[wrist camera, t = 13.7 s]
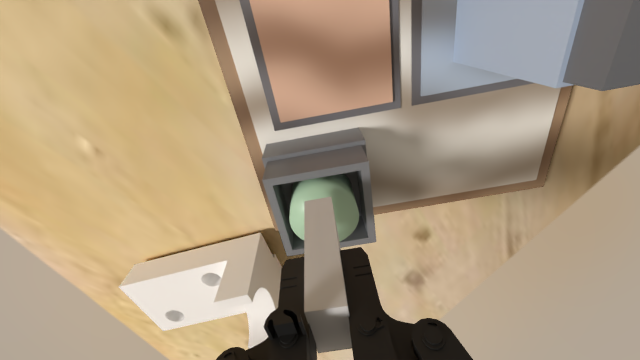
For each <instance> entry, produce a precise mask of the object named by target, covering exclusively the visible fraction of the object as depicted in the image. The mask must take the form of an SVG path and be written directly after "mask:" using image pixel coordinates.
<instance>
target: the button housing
mask: <svg viewBox="0 0 640 360" xmlns="http://www.w3.org/2000/svg"><path fill="white" fill-rule="evenodd" d="M262 161H263V164H264V168H265V171H264V175H263V179H262V181H263V185H264V188H265V191H266V194H267V197H268V200H269V203H270V206H271V209H272V212H273V215H274V218H275V221H276V224H277V227H278V230H279V233H280V236H281V239H282V242H283V245H284V249H285V252H286V255H287V256H292V255H299V254H304V240H302V239H301V238H299V237H298V236H297V235H296V234H295V233H294V231H293V230H292V228H291V225H290V221H289V216H290V204H291V192H292V186H293V184H294V182H297V181H303V180H308V179H314V178H320V177H326V176H331V175H337V174H343V173H344V174H345V175H346V176H347V178H348V179H349V181H350V183H351V186H352V190H353V193H354V197H355V200H356V204H357V207H358V211H359V221H358V224H357V226H356V228H355V230H354V231H353V232H352V234H350V235H349V236H348V237H347V238H345V239H344V240H342V241H340V242H339V243H340V248H342V247H348V246H354V245H360V244H366V243H373V242H376V234H375V223H374V212H373V201H372V190H371V180H370V169H369V161H368V159H367V153H366V142H365V138H364V136H363V134H362V133H361V131H360V129H359V127H358V128H352V129H347V130H341V131H336V132H330V133H325V134H319V135H314V136H308V137H303V138H297V139H292V140H286V141H281V142H275V143H270V144H266V147H265V150H264V153H263V156H262Z"/></svg>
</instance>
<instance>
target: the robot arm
mask: <svg viewBox="0 0 640 360" xmlns="http://www.w3.org/2000/svg"><path fill="white" fill-rule="evenodd" d="M264 329H265V331H266V333H267V335H268V338H267V339H266V340H264V341H263V342H261V343H260V344H258V345H256V346H254V347H252V348H250V349H248V350H246V351H245V350H244V349H242V348H240V347H234V348H230V349H228V350H226V351H224V352H223V353H222V354H221V355H220V356H219V357H218V358H217V359H216V360H317V351H318V353H322V352H329V351H336V350H343V349H350V348H352V350H353V357H354V360H473V359H472V358H471V356H470V355H469V354H468V352H467V351H466V350H465V348H464V347H463V346H462V344H461V343H460V342H459V340H458V339H457V338H456V336H455V335H454V334H453V332H452V331H451V330H450V329H449V328H448V327H447V326H446V325H445V324H444V323H442V322H440V321H439V320H437V319H431V318H426V319H421V320H419V321H418V322H417V323H415V324H411V323H405V322H400V321H397V320H395V319H393V318H391V317H390V316H388V315H387V314H386V313H385V311H384V310H383V309H382V306H381V304H380V300H379V296H378V293H377V289H376V285H375V281H374V278H373V274H372V270H371V266H370V262H369V259H368V255H367V254H366V253H365V251H364V250H363V249H362V248H361V247H359V248H353V249H347V250H341V249H340V243H339V236H338V230H337V225H336V220H335V214H334V209H333V203H332V198H331V197H326V198H320V199H314V200H309V201H304V257H301V258H295V259H289V260H286V262H285V264H284V266H283V267H282V269H281V281H280V291H279V301H278V308H277V309H276V310H274V311H273V312H272V313H270V315H269V316H268V317H267V319H266V321H265V324H264Z"/></svg>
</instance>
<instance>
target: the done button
mask: <svg viewBox="0 0 640 360" xmlns="http://www.w3.org/2000/svg"><path fill="white" fill-rule="evenodd" d="M326 197H331V198H332V203H333V209H334V214H335V220H336V225H337V230H338V236H339V242H340V241H342V240H344V239H345V238H347V237H348V236H349V235H350V234H352V232H353V231H354V230H355V228H356V226H357V224H358V221H359V211H358V207H357V204H356V200H355V197H354V193H353V190H352V186H351V183H350V181H349V179H348V178H347V176H346V175H345V174H344V173H343V174H337V175H331V176H326V177H320V178H314V179H308V180H303V181H297V182H294V184H293V186H292V192H291V204H290V216H289V221H290V225H291V228H292V230H293V231H294V233H295V234H296V235H297V236H298V237H299V238H301V239H302V240H304V201H309V200H314V199H320V198H326Z"/></svg>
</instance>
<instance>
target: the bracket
mask: <svg viewBox="0 0 640 360" xmlns="http://www.w3.org/2000/svg"><path fill="white" fill-rule="evenodd" d="M281 269H282V267H281V265H280V263H279V261H278V259H277V257H276V255H275V254H272V253H271V251H270V249H269V248H268V246H267V244H266V242H265V240H264V238H263V236H262V234H261V233H257V234H253V235H249V236H245V237H241V238H237V239H233V240H229V241H225V242H221V243H217V244H213V245H209V246H205V247H201V248H197V249H193V250H189V251H186V252H182V253H178V254H174V255H170V256H166V257H162V258H158V259H154V260H150V261H146V262H142V263H138V264H135V265H134V266H133V267H132V269H131V270H130V272H129V273H128V274H127V276H126V277H125V279H124V280H123V282H122V283H121V284H120V286H119V288H120V289H121V290H122V291H123V292H124V293H125V294H126V295H127V296H128V297H129V298H130V299H131V300H132V301H133V302H134V303H135V304H136V305H137V306H138V307H139V308H140V309H141V310H142V311H143V312H144V313H145V314H146V315H147V316H148V317H149V318H150V319H152V320H153V321H154V322H155V323H156V324H157V325H158V326H159V327H160V328H161V329H162V330H163V331H165V330H170V329H174V328H179V327H183V326H188V325H192V324H197V323H201V322H206V321H210V320H215V319H219V318H223V317H228V316H232V315H237V314H241V313H246V312H247V316H248V322H249V343H248V348H249V349H250V348H252V347H254V346H256V345H258V344H260V343H261V342H263V341H264V340H266V339H267V338H268V335H267V333H266V331H265V329H264V324H265V321H266V319H267V317H268V316H269V315H270V313H272V312H273V311H274V310H276V309H277V308H278V301H279V291H280V281H281Z"/></svg>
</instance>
